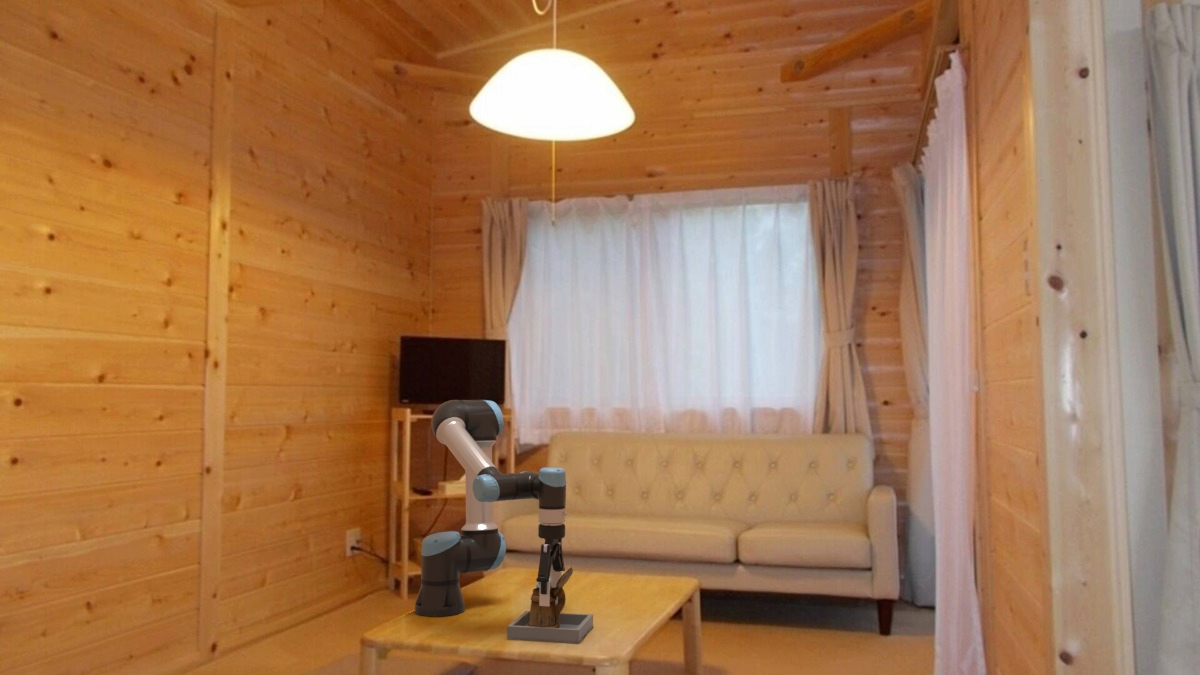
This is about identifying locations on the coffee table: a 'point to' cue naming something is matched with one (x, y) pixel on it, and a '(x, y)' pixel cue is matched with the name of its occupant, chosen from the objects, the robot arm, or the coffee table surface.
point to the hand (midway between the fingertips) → (550, 600)
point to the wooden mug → (549, 614)
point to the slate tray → (552, 629)
